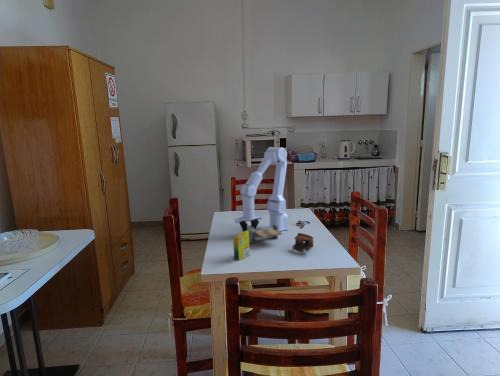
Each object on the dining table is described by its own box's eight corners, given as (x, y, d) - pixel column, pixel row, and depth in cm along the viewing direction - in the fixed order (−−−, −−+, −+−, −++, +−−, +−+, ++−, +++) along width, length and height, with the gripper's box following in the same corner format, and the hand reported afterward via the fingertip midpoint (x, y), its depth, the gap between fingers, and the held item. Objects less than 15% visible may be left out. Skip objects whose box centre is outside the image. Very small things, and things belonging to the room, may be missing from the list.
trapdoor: (267, 230, 170) (267, 224, 169) (283, 238, 157) (283, 232, 157) (246, 234, 164) (246, 228, 163) (260, 243, 151) (260, 236, 151)
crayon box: (245, 253, 147) (244, 228, 145) (250, 255, 145) (249, 229, 143) (233, 259, 141) (232, 232, 139) (238, 260, 139) (238, 234, 137)
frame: (271, 235, 170) (271, 223, 169) (278, 239, 165) (277, 226, 164) (243, 241, 163) (243, 228, 162) (250, 245, 158) (249, 231, 156)
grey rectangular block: (250, 235, 171) (250, 225, 170) (254, 237, 168) (254, 227, 167) (244, 236, 169) (243, 226, 168) (247, 239, 166) (247, 228, 165)
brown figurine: (287, 248, 152) (292, 231, 154) (303, 254, 156) (308, 237, 157) (302, 251, 141) (307, 232, 143) (319, 257, 145) (324, 239, 147)
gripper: (257, 205, 173) (257, 230, 175) (232, 209, 166) (233, 234, 168) (264, 207, 167) (264, 233, 169) (238, 211, 160) (239, 238, 162)
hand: (249, 234), depth 168 cm, fingers closed on grey rectangular block, 4 cm apart
